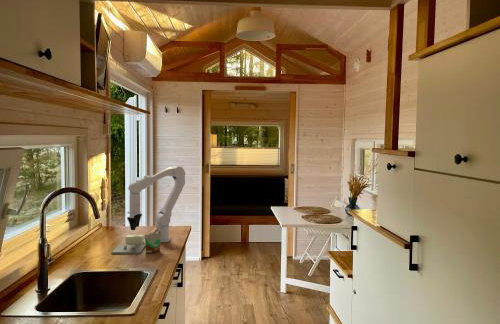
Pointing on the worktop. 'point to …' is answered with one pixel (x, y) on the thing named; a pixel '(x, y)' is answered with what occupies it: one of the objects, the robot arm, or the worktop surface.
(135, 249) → the stub board
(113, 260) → the worktop surface
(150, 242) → the food container
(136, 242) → the housing cap
